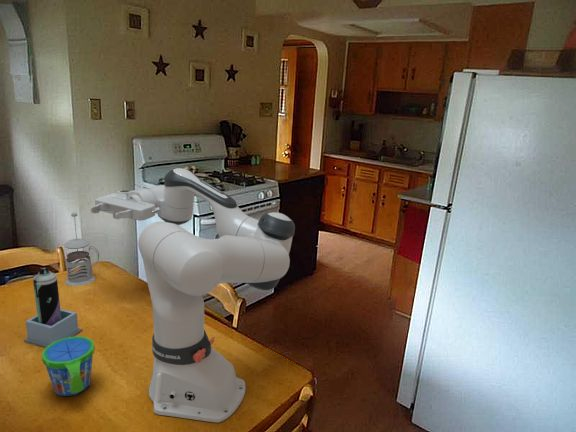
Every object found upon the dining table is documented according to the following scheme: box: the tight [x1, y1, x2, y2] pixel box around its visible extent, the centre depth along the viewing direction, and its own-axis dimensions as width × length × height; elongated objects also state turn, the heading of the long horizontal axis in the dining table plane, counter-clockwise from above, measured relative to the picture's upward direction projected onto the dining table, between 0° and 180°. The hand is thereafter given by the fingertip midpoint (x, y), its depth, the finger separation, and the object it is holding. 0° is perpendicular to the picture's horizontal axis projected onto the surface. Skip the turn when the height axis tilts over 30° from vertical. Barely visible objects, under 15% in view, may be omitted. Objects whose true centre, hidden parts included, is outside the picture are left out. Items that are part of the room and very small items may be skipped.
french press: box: [63, 212, 100, 287], centre depth 146 cm, size 10×12×25 cm
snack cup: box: [41, 335, 95, 397], centre depth 96 cm, size 16×10×10 cm
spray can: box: [32, 266, 61, 326], centre depth 112 cm, size 6×6×20 cm
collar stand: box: [23, 308, 83, 349], centre depth 115 cm, size 10×10×6 cm
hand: (103, 213), depth 122 cm, fingers open, 8 cm apart
